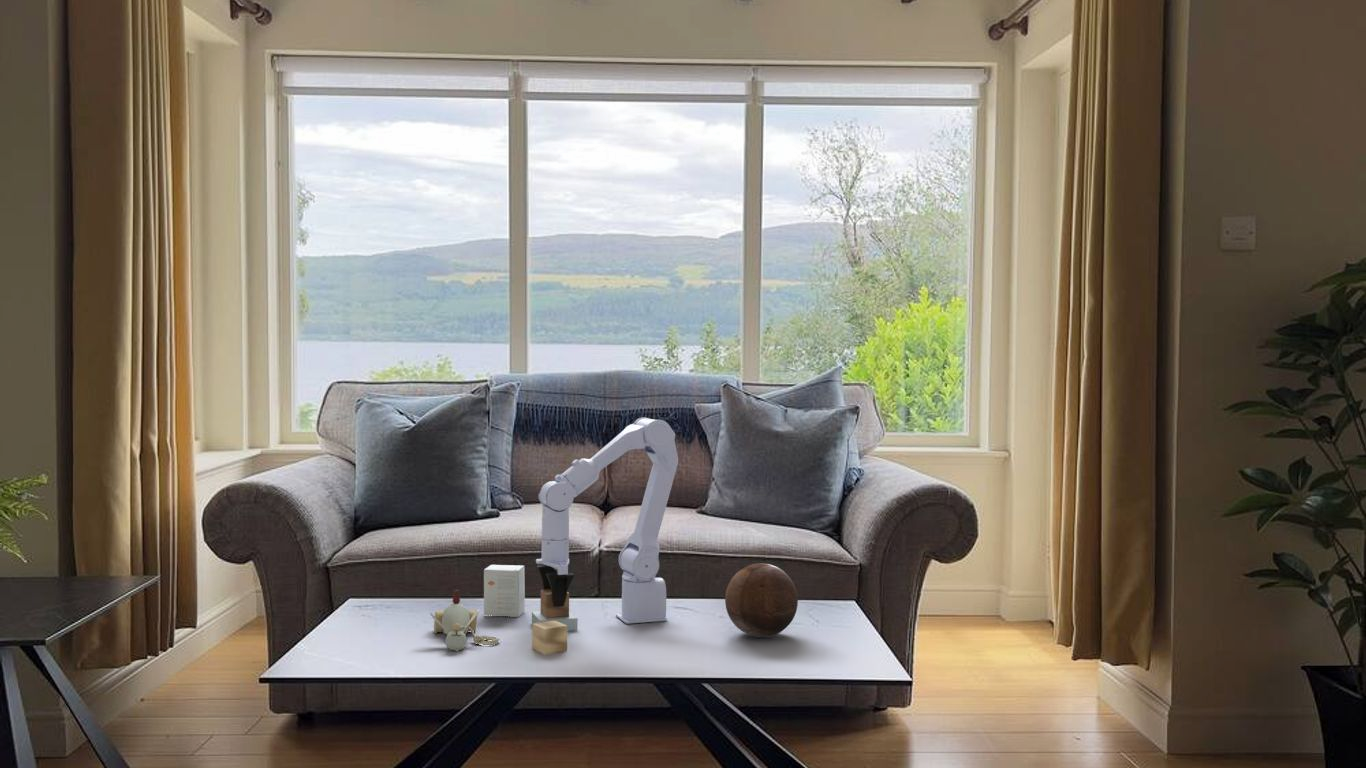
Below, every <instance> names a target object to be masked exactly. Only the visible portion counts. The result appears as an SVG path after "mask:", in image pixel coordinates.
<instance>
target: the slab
mask: <svg viewBox="0 0 1366 768" xmlns="http://www.w3.org/2000/svg"><path fill="white" fill-rule="evenodd" d="M540 611H541V610H538V611H532V612H531V625H532V624H534V623H541V622H547V621H554V620H555V621H558V622H560V623H562V624H565V625H567V632H568V631H569V630H571V631H578V621H579V620H578V616H576V614H574V613H573V612H572V611H570V609H569V617H558V618H545V617H544V616H543V615H542V614H541V613H540ZM569 632H570V631H569Z"/></svg>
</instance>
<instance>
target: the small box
mask: <svg viewBox="0 0 1366 768" xmlns="http://www.w3.org/2000/svg"><path fill="white" fill-rule="evenodd" d="M525 573H526V572H525V565H513V564H511V565H509V564H490V565H489V566H487V567H486V568H484V569H483V616H484V615H488V616H487V617H492V616H508V617H507V618H519V617H521V615H523V613H524V612H525V609H526V603H525V602H526V599H525V598H526V595H525V593H526V591H525V590H526V589H525V582H526V581H525V579H526V578H525V576H526V575H525ZM489 615H490V616H489ZM491 615H492V616H491ZM509 616H510V617H509Z"/></svg>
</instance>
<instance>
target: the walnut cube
mask: <svg viewBox="0 0 1366 768" xmlns="http://www.w3.org/2000/svg"><path fill="white" fill-rule="evenodd" d="M569 610H570V593H569V592H567V596H566V600H565V604H564V606H560V607H554V605H553V601H552V592H551V589H540V610H539V611H540V613H541V614H542V615H543V616H544V617H545V618H558V617H569Z"/></svg>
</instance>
